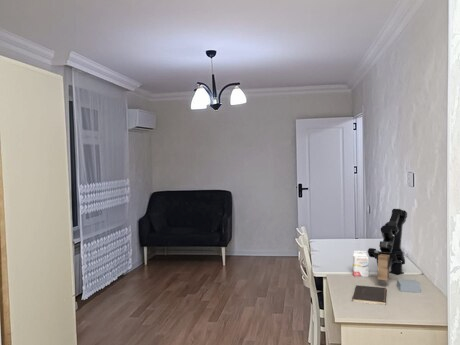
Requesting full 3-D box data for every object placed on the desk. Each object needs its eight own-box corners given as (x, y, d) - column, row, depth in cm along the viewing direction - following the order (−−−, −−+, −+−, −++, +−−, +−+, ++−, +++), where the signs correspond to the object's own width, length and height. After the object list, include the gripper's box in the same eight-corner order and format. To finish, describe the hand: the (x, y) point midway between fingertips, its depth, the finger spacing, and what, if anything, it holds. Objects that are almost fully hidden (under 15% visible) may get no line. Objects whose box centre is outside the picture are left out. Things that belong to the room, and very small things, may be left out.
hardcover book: (352, 302, 231) (352, 298, 231) (356, 289, 253) (356, 285, 253) (385, 306, 226) (386, 301, 226) (386, 292, 248) (386, 287, 247)
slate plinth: (396, 286, 256) (396, 279, 256) (415, 286, 254) (415, 279, 254) (400, 291, 246) (400, 284, 246) (420, 292, 245) (420, 285, 244)
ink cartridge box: (354, 276, 276) (354, 252, 275) (352, 274, 281) (352, 250, 280) (368, 276, 275) (368, 252, 274) (367, 274, 280) (367, 250, 279)
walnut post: (379, 276, 258) (380, 253, 257) (389, 278, 255) (389, 255, 254) (377, 279, 253) (378, 255, 252) (386, 280, 251) (387, 257, 250)
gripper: (368, 233, 261) (363, 257, 252) (403, 237, 251) (398, 261, 242) (372, 245, 268) (366, 268, 259) (405, 248, 258) (401, 272, 250)
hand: (383, 267), depth 252 cm, fingers closed on walnut post, 5 cm apart
